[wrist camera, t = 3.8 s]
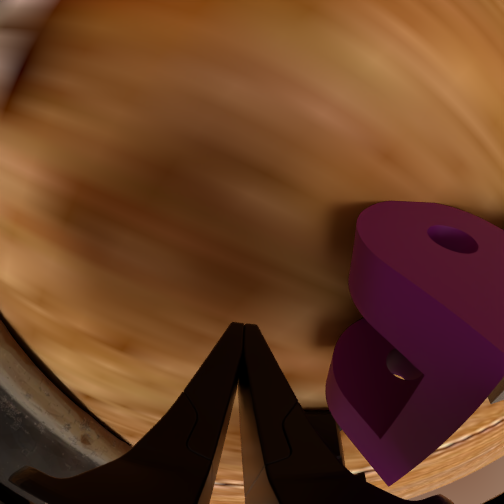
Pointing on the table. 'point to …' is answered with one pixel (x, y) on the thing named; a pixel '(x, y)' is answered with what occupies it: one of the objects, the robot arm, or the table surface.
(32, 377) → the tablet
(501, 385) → the stop blocks
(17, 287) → the table surface
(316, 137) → the table surface
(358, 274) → the mounting bracket
